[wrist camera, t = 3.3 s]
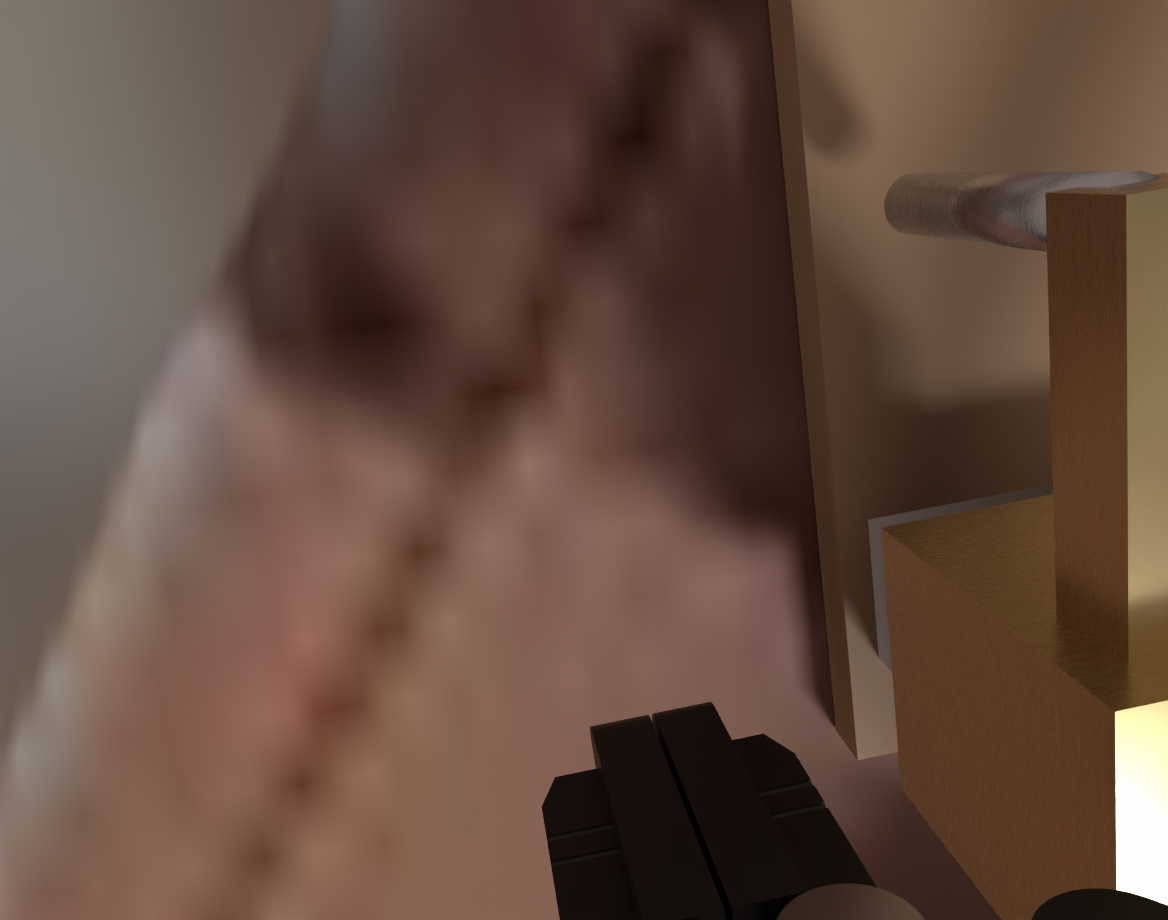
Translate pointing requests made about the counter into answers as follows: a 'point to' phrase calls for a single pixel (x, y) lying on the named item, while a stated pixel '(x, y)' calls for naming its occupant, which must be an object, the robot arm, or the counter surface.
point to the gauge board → (934, 266)
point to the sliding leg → (1050, 567)
